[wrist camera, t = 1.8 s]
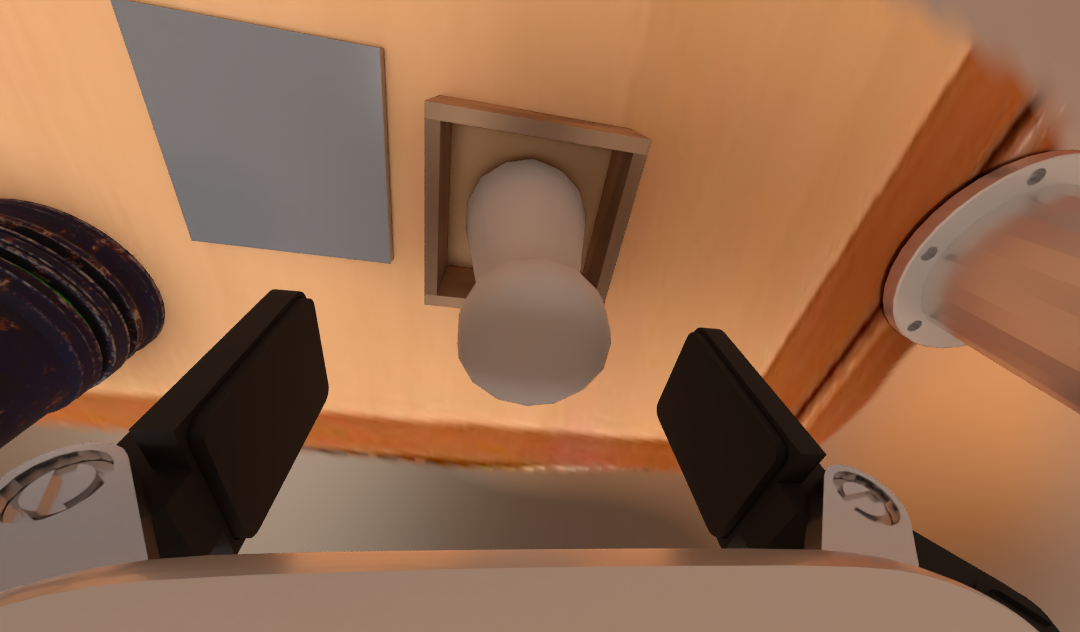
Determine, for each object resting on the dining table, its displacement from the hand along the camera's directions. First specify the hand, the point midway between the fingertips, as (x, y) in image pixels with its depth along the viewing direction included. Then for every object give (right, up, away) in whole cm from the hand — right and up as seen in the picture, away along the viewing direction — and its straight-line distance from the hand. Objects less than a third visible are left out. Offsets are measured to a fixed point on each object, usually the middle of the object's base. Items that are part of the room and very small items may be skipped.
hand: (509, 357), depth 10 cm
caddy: (0, +7, +11) cm, 13 cm away
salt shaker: (0, +7, +11) cm, 13 cm away
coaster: (-12, +9, +9) cm, 17 cm away
